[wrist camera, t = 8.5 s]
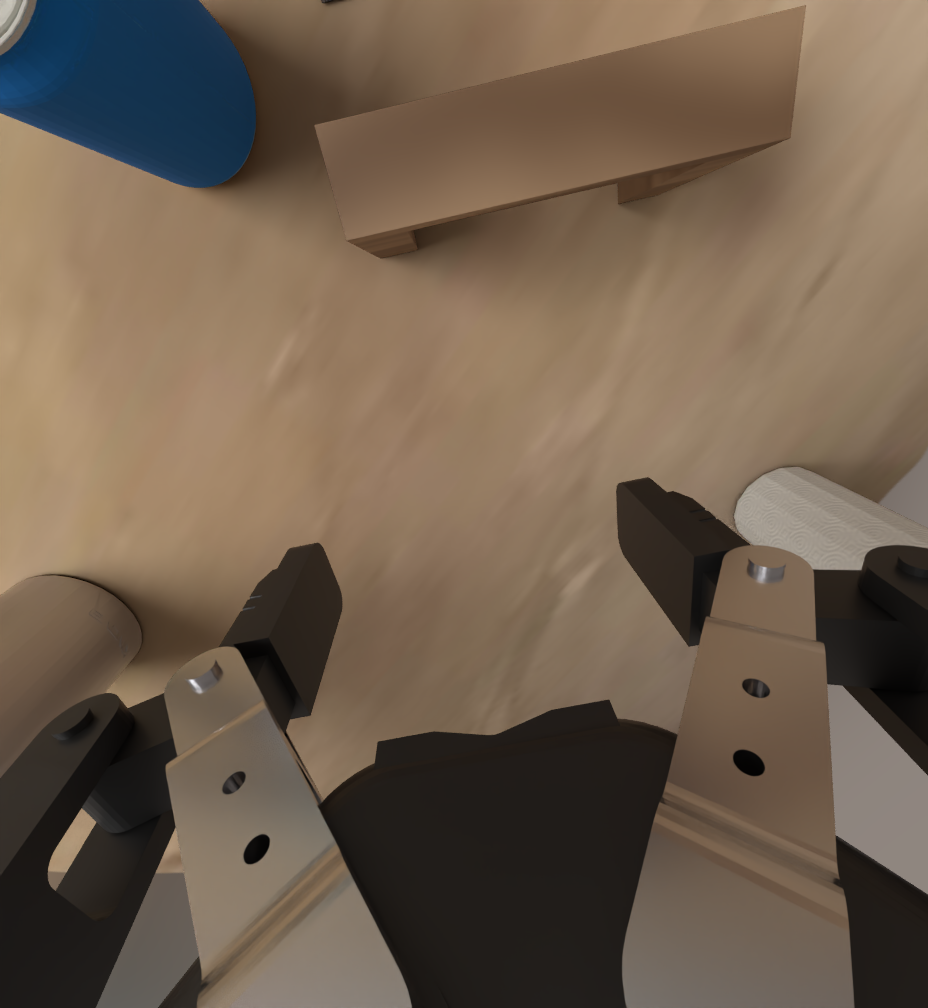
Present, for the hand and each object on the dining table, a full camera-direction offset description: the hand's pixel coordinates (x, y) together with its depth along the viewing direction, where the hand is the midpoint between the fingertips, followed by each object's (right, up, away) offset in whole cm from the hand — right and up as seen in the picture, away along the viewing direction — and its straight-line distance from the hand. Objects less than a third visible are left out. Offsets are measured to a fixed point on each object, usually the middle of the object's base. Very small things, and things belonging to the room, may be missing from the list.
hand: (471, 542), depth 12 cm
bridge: (+2, +17, +10) cm, 19 cm away
